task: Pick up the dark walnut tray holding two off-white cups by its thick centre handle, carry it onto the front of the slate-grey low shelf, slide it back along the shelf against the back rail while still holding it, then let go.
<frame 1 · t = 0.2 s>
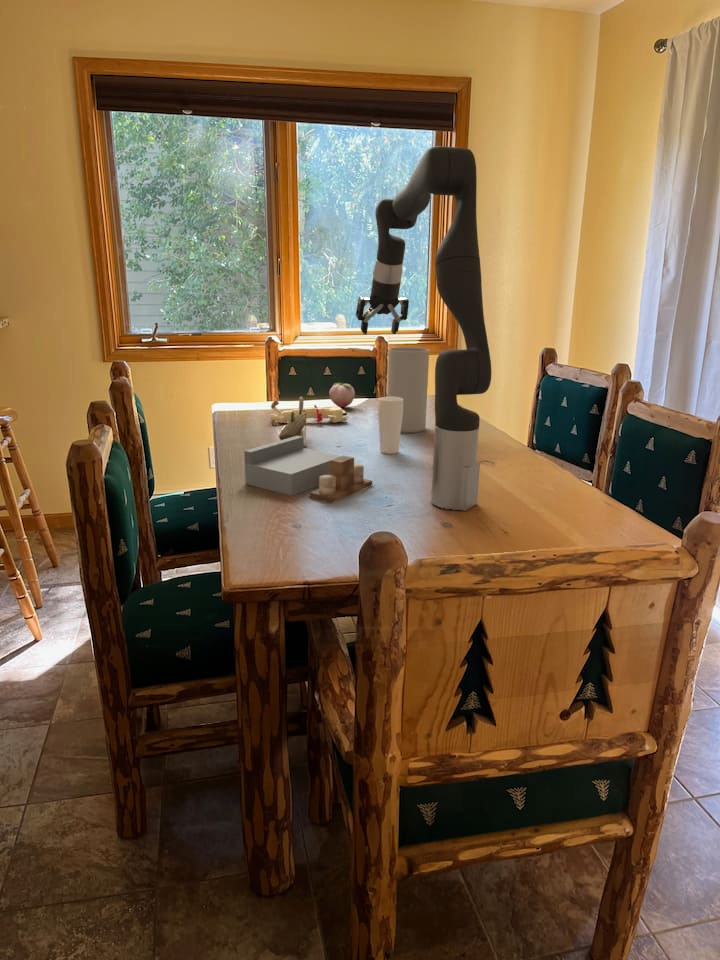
hand: (379, 333, 192), 31 cm above the table, tool tilted 20°, fingers open, 8 cm apart
cylinder vase: (405, 429, 218), on the table
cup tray: (341, 492, 157), on the table
drinking glass: (389, 452, 190), on the table
cat figure: (310, 423, 224), on the table
low shelf: (294, 479, 164), on the table
decorative fruit: (342, 408, 247), on the table
wood carving: (294, 447, 194), on the table
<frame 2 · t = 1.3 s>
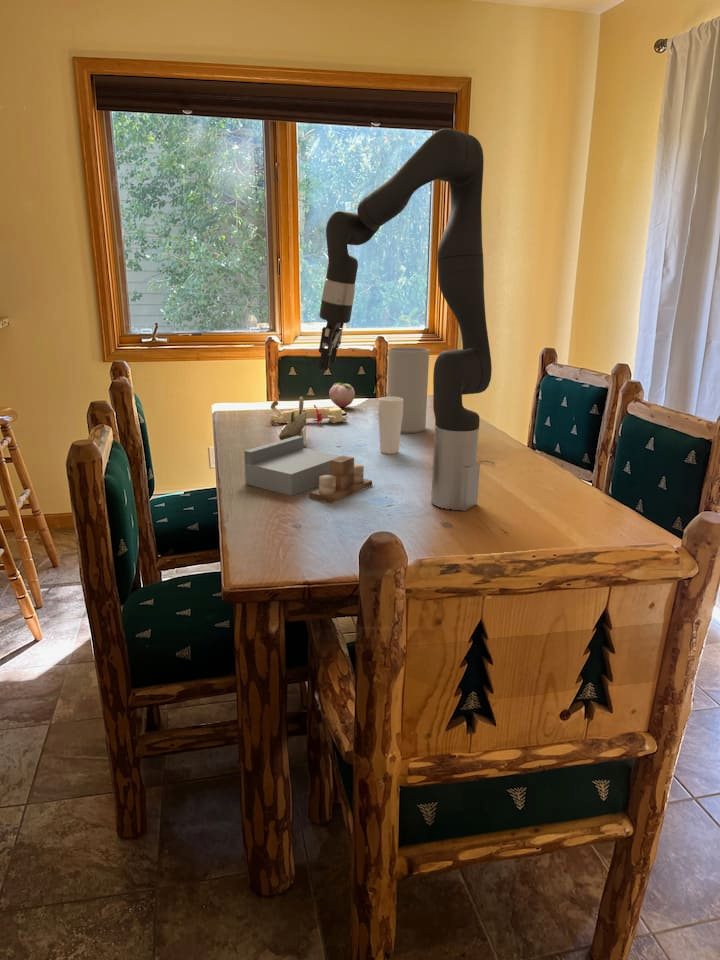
hand: (327, 366, 171), 25 cm above the table, tool pointing down, fingers open, 8 cm apart
nothing on the table moved.
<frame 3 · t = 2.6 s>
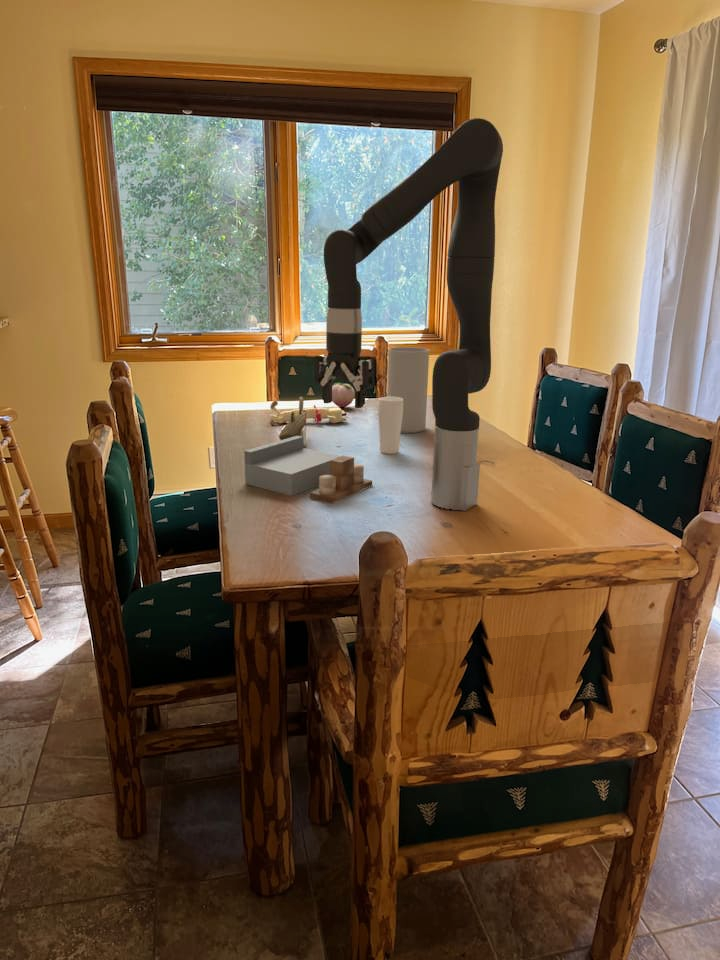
hand: (343, 405, 151), 20 cm above the table, tool pointing down, fingers open, 8 cm apart
nothing on the table moved.
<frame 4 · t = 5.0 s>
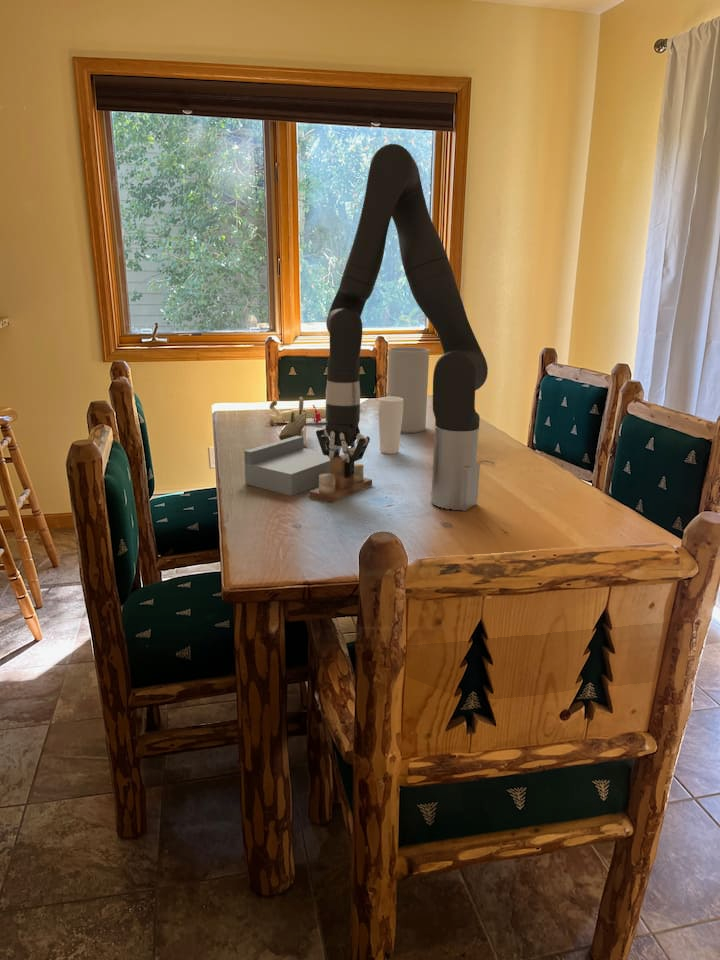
hand: (341, 475, 156), 4 cm above the table, tool pointing down, fingers closed on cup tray, 3 cm apart
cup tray: (341, 491, 157), on the table, touching gripper
everything else where it was.
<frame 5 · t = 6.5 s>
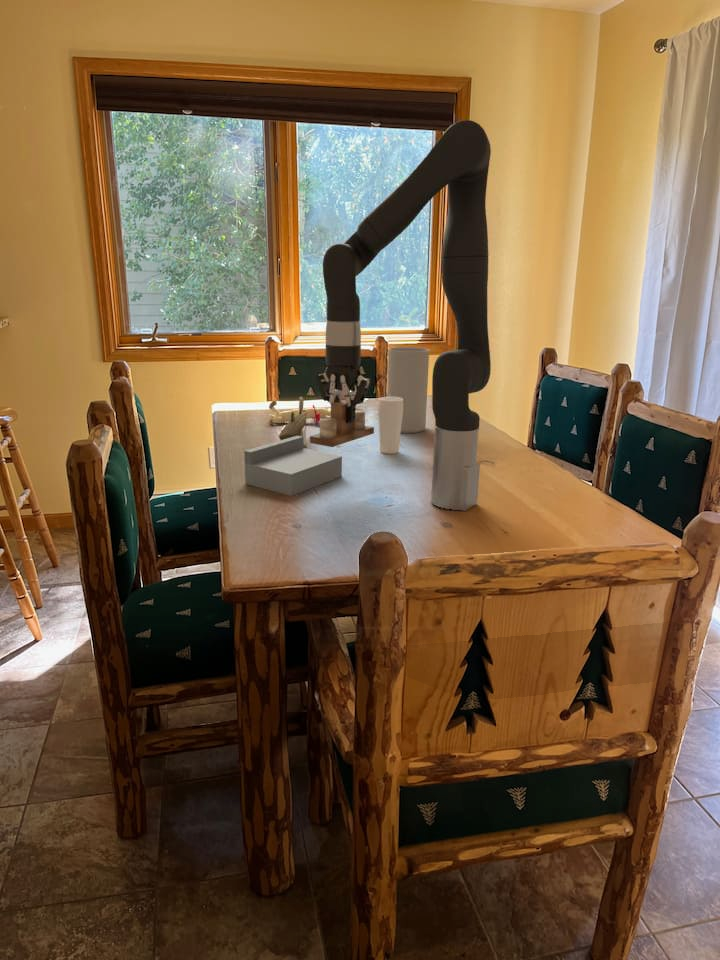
hand: (342, 421, 151), 16 cm above the table, tool pointing down, fingers closed on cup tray, 3 cm apart
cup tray: (342, 438, 153), point 13 cm above the table, touching gripper
everything else where it was.
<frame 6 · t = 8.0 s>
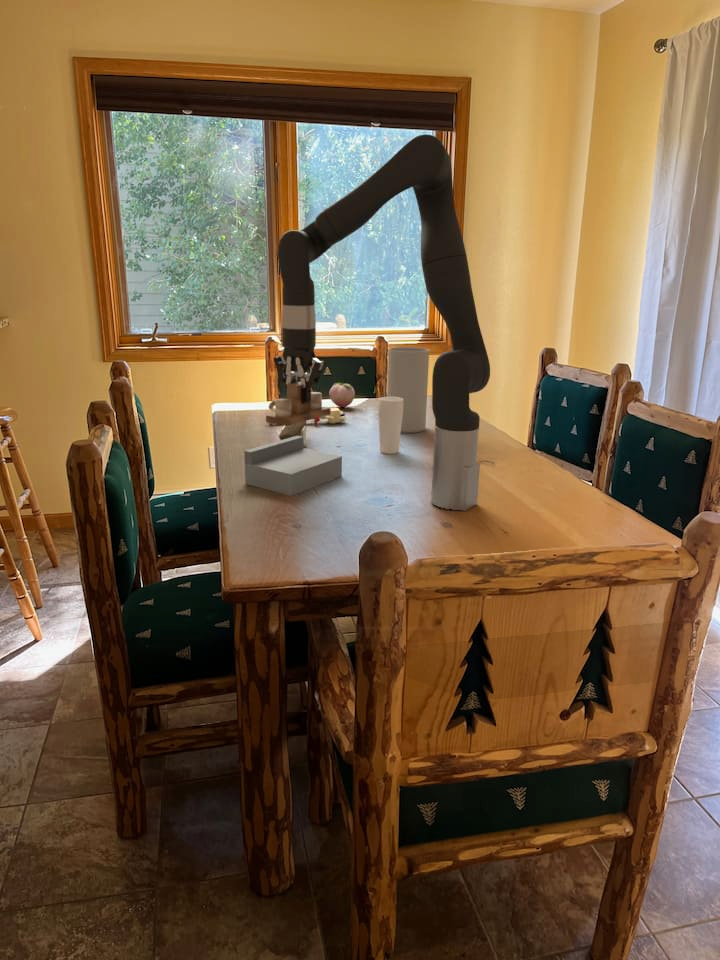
hand: (299, 402, 158), 19 cm above the table, tool pointing down, fingers closed on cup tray, 3 cm apart
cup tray: (299, 418, 159), point 15 cm above the table, touching gripper
everything else where it was.
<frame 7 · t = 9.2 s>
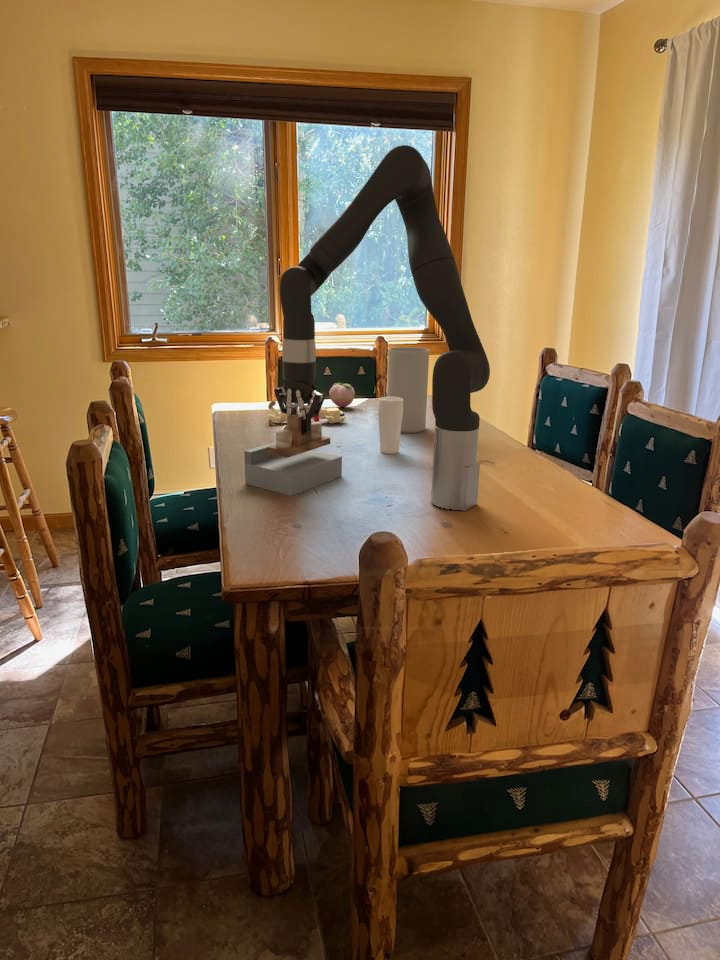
hand: (299, 433, 160), 12 cm above the table, tool pointing down, fingers closed on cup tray, 3 cm apart
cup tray: (299, 448, 161), point 8 cm above the table, touching gripper
when the fingers open (9 cm above the table, at t = 12.0 s): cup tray stays where it is, resting on low shelf.
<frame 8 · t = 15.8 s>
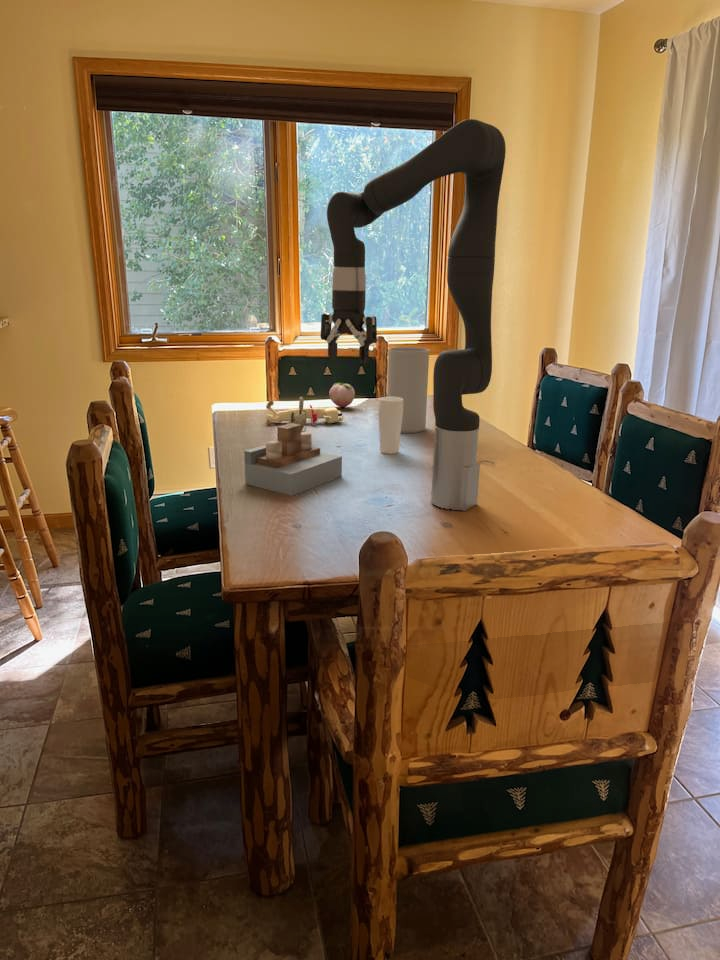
hand: (347, 360, 159), 28 cm above the table, tool pointing down, fingers open, 8 cm apart
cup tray: (289, 458, 163), point 5 cm above the table, touching low shelf
at the end: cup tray 0.3 cm from the target spot on the low shelf, point 5.0 cm above the low shelf's base; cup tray tilted 0°; the gripper is holding nothing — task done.
